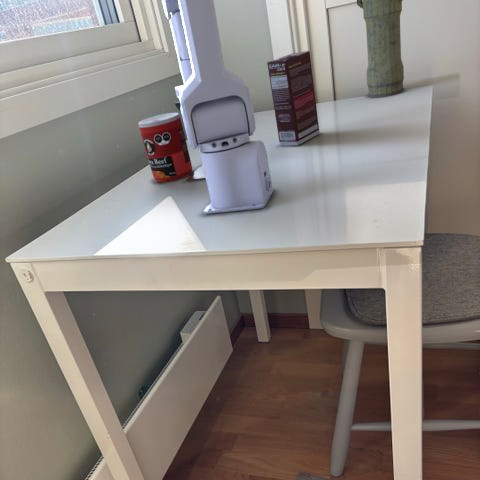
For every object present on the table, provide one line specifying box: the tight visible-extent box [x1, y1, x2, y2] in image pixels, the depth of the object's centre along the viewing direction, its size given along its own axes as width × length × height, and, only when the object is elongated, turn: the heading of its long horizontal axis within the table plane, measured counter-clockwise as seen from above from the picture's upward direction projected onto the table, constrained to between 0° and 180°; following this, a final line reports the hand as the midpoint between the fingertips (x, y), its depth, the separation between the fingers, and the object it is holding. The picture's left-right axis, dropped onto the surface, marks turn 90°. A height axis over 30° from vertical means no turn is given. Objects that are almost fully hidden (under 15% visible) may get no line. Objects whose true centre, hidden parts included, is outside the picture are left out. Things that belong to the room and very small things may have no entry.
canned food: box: [137, 112, 193, 183], centre depth 97 cm, size 8×8×11 cm
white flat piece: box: [185, 163, 206, 182], centre depth 97 cm, size 10×10×1 cm
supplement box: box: [266, 50, 320, 147], centre depth 101 cm, size 9×5×16 cm, turn 141°
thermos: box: [356, 0, 405, 98], centre depth 121 cm, size 9×12×35 cm
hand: (211, 137), depth 94 cm, fingers open, 7 cm apart
